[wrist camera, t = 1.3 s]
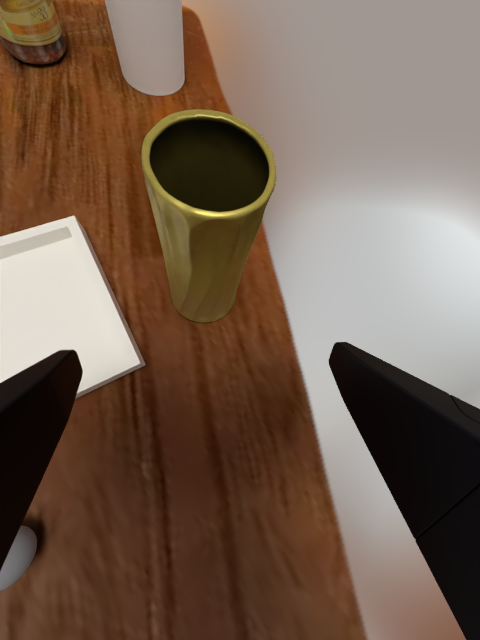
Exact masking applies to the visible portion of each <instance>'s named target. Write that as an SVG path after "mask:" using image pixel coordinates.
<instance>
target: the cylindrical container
mask: <svg viewBox="0 0 480 640" xmlns="http://www.w3.org/2000/svg"><path fill="white" fill-rule="evenodd" d="M105 4H106V8H107V12H108V16H109V20H110V24H111V29H112V33H113V37H114V41H115V45H116V49H117V53H118V57H119V62H120V66H121V70H122V74H123V76H124V78H125V80H126V81H127V83H128V84H129V85H131V86H132V87H133V88H135V89H136V90H138V91H140V92H142V93H145V94H148V95H154V96H165V95H170V94H173V93H175V92H177V91H178V90H179V89H180V88H181V87H182V86H183V84H184V81H185V73H184V50H183V27H182V4H181V0H105Z"/></svg>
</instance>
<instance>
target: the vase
mask: <svg viewBox="0 0 480 640" xmlns="http://www.w3.org/2000/svg"><path fill="white" fill-rule="evenodd" d="M141 160H142V168H143V173H144V179H145V184H146V188H147V191H148V195H149V198H150V202H151V206H152V210H153V214H154V218H155V222H156V226H157V230H158V234H159V238H160V242H161V246H162V251H163V255H164V260H165V265H166V270H167V275H168V281H169V286H170V292H171V300H172V303H173V304H174V306H175V308H176V309H177V311H178V312H179V313H180V314H181V315H183V316H184V317H186V318H187V319H189V320H191V321H195V322H202V323H203V322H213V321H216V320H218V319H220V318H222V317H224V316H225V315H226V314H227V313H228V312H229V311H230V310H231V308H232V306H233V304H234V302H235V298H236V291H237V289H238V285H239V282H240V279H241V276H242V272H243V269H244V267H245V264H246V260H247V257H248V255H249V252H250V250H251V247H252V245H253V242H254V240H255V237H256V235H257V232H258V230H259V227H260V224H261V222H262V218H263V214H264V210H265V208H266V205H267V203H268V201H269V199H270V196H271V194H272V192H273V190H274V187H275V181H276V166H275V160H274V156H273V153H272V151H271V149H270V147H269V145H268V144H267V142H266V141H265V140H264V138H263V137H262V136H261V135H260V134H259V133H258V132H257V131H256V130H255V129H254V128H252V127H251V126H249V125H248V124H247V123H245V122H244V121H242V120H240V119H238V118H237V117H235V116H232V115H229V114H226V113H223V112H219V111H213V110H186V111H181V112H176V113H173V114H171V115H169V116H167V117H165V118H163V119H162V120H161V121H159V122H158V123H157V124H156V125H155V126H154V127H153V128H152V129H151V130H150V131H149V133H148V134H147V135H146V137H145V139H144V142H143V146H142V156H141Z"/></svg>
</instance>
